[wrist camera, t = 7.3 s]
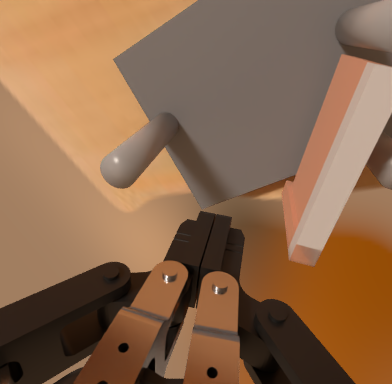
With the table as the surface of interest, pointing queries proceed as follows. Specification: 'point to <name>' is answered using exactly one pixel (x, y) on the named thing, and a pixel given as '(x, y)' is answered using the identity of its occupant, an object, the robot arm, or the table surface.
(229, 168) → the gate frame
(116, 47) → the table surface
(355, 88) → the gate
